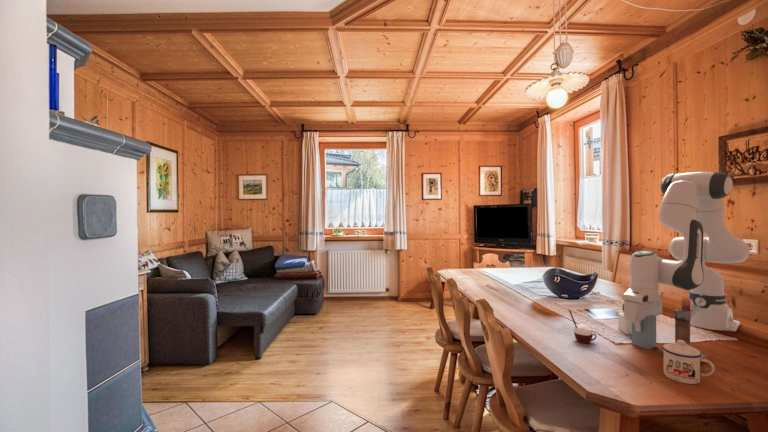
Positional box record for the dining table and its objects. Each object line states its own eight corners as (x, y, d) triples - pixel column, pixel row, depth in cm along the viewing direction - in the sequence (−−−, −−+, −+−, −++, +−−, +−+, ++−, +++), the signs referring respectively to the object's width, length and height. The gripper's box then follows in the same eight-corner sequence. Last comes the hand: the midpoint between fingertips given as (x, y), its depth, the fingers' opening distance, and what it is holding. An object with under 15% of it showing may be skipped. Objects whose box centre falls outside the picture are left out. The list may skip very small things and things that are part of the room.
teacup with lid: (661, 378, 107) (661, 341, 107) (663, 367, 114) (663, 333, 113) (714, 391, 99) (715, 351, 98) (714, 379, 105) (714, 342, 105)
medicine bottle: (645, 335, 141) (645, 306, 141) (625, 334, 143) (625, 305, 142) (636, 329, 148) (636, 301, 148) (617, 328, 150) (617, 301, 149)
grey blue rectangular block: (639, 341, 135) (639, 311, 135) (656, 346, 130) (656, 315, 130) (631, 344, 133) (631, 314, 133) (648, 349, 128) (648, 318, 128)
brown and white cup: (597, 342, 136) (598, 312, 135) (593, 347, 131) (594, 316, 131) (570, 336, 142) (572, 307, 142) (566, 339, 138) (567, 310, 137)
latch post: (672, 349, 128) (672, 313, 127) (707, 359, 119) (707, 321, 119) (658, 354, 123) (658, 318, 123) (693, 366, 114) (693, 326, 114)
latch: (701, 311, 129) (701, 295, 128) (689, 322, 118) (689, 304, 117) (686, 308, 132) (686, 293, 132) (672, 318, 121) (672, 302, 121)
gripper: (648, 288, 139) (648, 322, 139) (620, 295, 129) (620, 331, 130) (667, 291, 133) (667, 327, 133) (638, 299, 124) (638, 337, 124)
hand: (643, 329), depth 131 cm, fingers closed on grey blue rectangular block, 6 cm apart
